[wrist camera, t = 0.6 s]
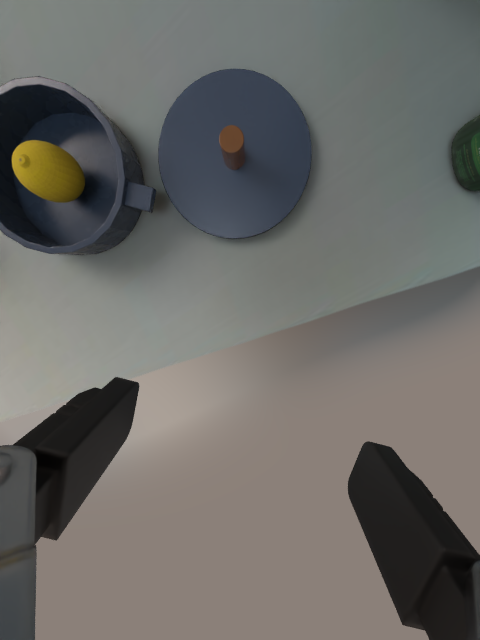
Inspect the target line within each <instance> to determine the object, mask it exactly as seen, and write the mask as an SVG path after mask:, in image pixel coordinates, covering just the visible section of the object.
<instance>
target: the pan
mask: <svg viewBox="0 0 480 640" xmlns="http://www.w3.org/2000/svg"><path fill="white" fill-rule="evenodd" d="M30 140H38V141H45V142H48V143H51V144H54V145H56V146H58V147H60V148H62V149H64V150H65V151H66V152H68V153H69V154H70V155H71V156H72V157H73V158H74V159H75V160H76V161H77V162H78V164H79V165H80V167H81V169H82V171H83V174H84V177H85V186H84V190H83V192H82V194H81V195H80V196H79V197H78V198H77V199H75V200H73V201H70V202H66V203H60V202H53V201H49V200H45V199H43V198H41V197H39V196H37V195H36V194H34V193H32V192H31V191H29V190H28V189H27V188H26V187H25V186H24V185H22V183H21V182H20V181H19V180H18V178H17V177H16V175H15V173H14V170H13V167H12V155H13V152H14V150H15V149H16V147H17V146H18V145H20V144H21V143H23V142H25V141H30ZM155 195H156V190H155V189H154V188H152V187H148V186H144V182H143V175H142V170H141V166H140V163H139V161H138V158H137V155H136V153H135V152H134V150H133V148H132V145H131V144H130V142H129V141H128V140H127V139H126V137H125V136H124V135H123V134H122V132H121V131H120V130H119V129H118V128H117V126H116V125H115V124H114V123H113V122H112V121H111V120H110V119H109V118H108V117H107V116H106V115H105V114H104V113H103V112H102V111H101V110H100V109H99V108H98V107H97V106H96V105H95V104H94V103H93V102H92V101H91V100H90V99H89V98H87V97H86V96H84V95H83V94H81V93H80V92H78V91H77V90H75V89H74V88H72V87H71V86H69V85H68V84H66V83H63V82H59V81H55V80H52V79H48V78H44V77H41V76H37V77H27V78H17V79H13V80H11V81H9V82H7V83H5V84H4V85H2V86H0V230H1V231H2V232H3V233H4V234H5V235H6V236H8V237H10V238H11V239H13V240H15V241H16V242H18V243H19V244H21V245H23V246H24V247H26V248H30V249H33V250H37V251H41V252H45V253H49V254H68V255H84V254H97V253H100V252H103V251H106V250H108V249H111V248H112V247H114V246H116V245H117V244H119V243H120V242H121V241H123V240H124V239H125V238H126V237H127V236H128V234H129V233H130V232H131V230H132V229H133V228H134V226H135V224H136V222H137V220H138V218H139V215H140V213H141V210H143V211H147V212H151V213H152V212H153V206H154V200H155Z"/></svg>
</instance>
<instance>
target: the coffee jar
mask: <svg viewBox="0 0 480 640" xmlns="http://www.w3.org/2000/svg"><path fill="white" fill-rule="evenodd" d="M452 163H453V168H454V171H455V174H456V177H457V178H458V180H459V182H460V184H461V185H462V186H464V187H465V188H466V189H469V190H472V191H480V115H479V116H477V117H476V118H474V119H473V120H471V121H470V122H468V123H467V124H465V125H464V126H463V127H462V128H461V129H460V130H459V131H458V133H457V134H456V136H455V138H454V141H453V143H452Z"/></svg>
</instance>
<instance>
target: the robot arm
mask: <svg viewBox="0 0 480 640" xmlns="http://www.w3.org/2000/svg"><path fill="white" fill-rule="evenodd" d="M138 391H139V383H138V382H134V381H130V380H126V379H122V378H118V377H116V378H114V379H113V380H112V381H111V382H109V383H108V384H107V385H106V386H105V387H104V388H102V389H99V388H92V389H89V390H87V391H84V392H82V393H79V394H78V395H76V396H75V397H74V398H72V399H71V400H70V401H69V402H67V404H66V405H63V406H62V407H61V408H60V409H58V410H57V411H56V413H53V414H52V415H51V416H49V417H48V418H47V419H45V420H44V421H43V422H42V423H41V424H39V425H38V426H37V427H35V428H34V429H33V430H31V431H30V432H29V433H28V434H26V435H25V436H24V437H23V438H21V439H20V440H19V441H18V442H16V443H15V444H13V445H3V446H0V640H35V603H36V602H35V601H36V545H35V544H36V543H37V541H38V540H39V539H40V537H44V538H49V539H53V540H57V539H58V538H59V536H60V535H61V533H62V532H63V531H64V529H65V528H66V526H67V525H68V523H69V522H70V520H71V519H72V518H73V516H74V515H75V513H76V512H77V510H78V509H79V507H80V506H81V504H82V503H83V502H84V500H85V499H86V497H87V496H88V494H89V493H90V491H91V490H92V488H93V487H94V485H95V484H96V483H97V481H98V480H99V478H100V477H101V475H102V474H103V473H104V471H105V470H106V468H107V467H108V465H109V464H110V462H111V461H112V459H113V458H114V457H115V455H116V454H117V452H118V451H119V449H120V448H121V446H122V445H123V443H124V442H125V440H126V439H127V437H128V434H129V432H130V429H131V426H132V422H133V417H134V412H135V406H136V401H137V396H138ZM348 494H349V498H350V500H351V503H352V505H353V507H354V510H355V512H356V515H357V517H358V520H359V522H360V524H361V527H362V529H363V531H364V534H365V536H366V539H367V541H368V543H369V546H370V548H371V551H372V553H373V555H374V558H375V560H376V562H377V565H378V567H379V570H380V572H381V574H382V577H383V579H384V581H385V584H386V586H387V588H388V591H389V593H390V596H391V598H392V601H393V603H394V605H395V608H396V610H397V613H398V615H399V617H400V620H401V622H402V625H405V626H409V627H413V628H417V629H421V630H425V631H426V633H427V635H428V637H429V640H480V555H479V554H478V553H477V551H476V550H475V549H474V547H473V546H472V545H471V544H470V542H469V541H468V540H467V539H466V537H465V536H464V535H463V533H462V532H461V531H460V529H459V528H458V527H457V526H456V524H455V523H454V522H453V520H452V519H451V518H450V517H449V515H448V514H447V513H446V512H444V511H443V508H442V506H441V505H440V504H439V503H438V501H437V500H436V499H435V498H433V495H432V494H431V492H430V491H429V490H428V488H427V487H426V486H425V485H424V483H423V482H422V481H421V480H420V479H419V478H418V477H417V476H416V475H415V474H414V473H412V472H411V471H410V470H409V469H408V468H407V467H406V466H405V464H404V463H403V462H402V460H401V459H400V458H399V456H398V455H397V454H396V452H395V451H394V450H393V449H392V448H391V447H388V446H385V445H380V444H377V443H373V442H365V443H364V444H363V446H362V448H361V451H360V453H359V455H358V458H357V460H356V463H355V465H354V467H353V470H352V472H351V475H350V477H349V481H348Z"/></svg>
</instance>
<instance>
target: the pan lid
mask: <svg viewBox="0 0 480 640" xmlns="http://www.w3.org/2000/svg"><path fill="white" fill-rule="evenodd" d="M158 152H159V168H160V174H161V178H162V182H163V184H164V187H165V190H166V192H167V194H168V196H169V198H170V200H171V202H172V203H173V205H174V206H175V207H176V209H177V210H178V211H179V212H180V214H181V215H182V216H183V217H184V218H185V219H186V220H188V221H189V222H190V223H191V224H192V225H194V226H195V227H197V228H198V229H200V230H202V231H204V232H206V233H208V234H211V235H214V236H217V237H222V238H230V239H239V238H247V237H252V236H255V235H258V234H261V233H263V232H265V231H267V230H269V229H271V228H273V227H274V226H275V225H277V224H278V223H280V222H281V221H282V220H283V219H284V218H285V217H286V216H287V215H288V214H289V213H290V211H291V210H292V209H293V208H294V207H295V205H296V204H297V202H298V200H299V199H300V197H301V195H302V193H303V191H304V189H305V186H306V183H307V180H308V177H309V172H310V167H311V157H312V154H311V140H310V133H309V130H308V126H307V123H306V120H305V118H304V115H303V113H302V111H301V109H300V108H299V106H298V104H297V103H296V101H295V100H294V99H293V97H292V96H291V95H290V94H289V93H288V92H287V91H286V90H285V89H284V88H283V87H282V86H281V85H280V84H278V83H277V82H276V81H274V80H273V79H271V78H269V77H267V76H265V75H263V74H260V73H258V72H255V71H251V70H245V69H226V70H220V71H217V72H213V73H210V74H208V75H206V76H204V77H202V78H200V79H198V80H197V81H195V82H194V83H192V84H191V85H190V86H189V87H188V88H186V89H185V90H184V91H183V92H182V93H181V95H180V96H179V97H178V98H177V99H176V101H175V102H174V104H173V105H172V107H171V108H170V110H169V112H168V114H167V116H166V119H165V121H164V124H163V127H162V131H161V135H160V140H159V149H158Z"/></svg>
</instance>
